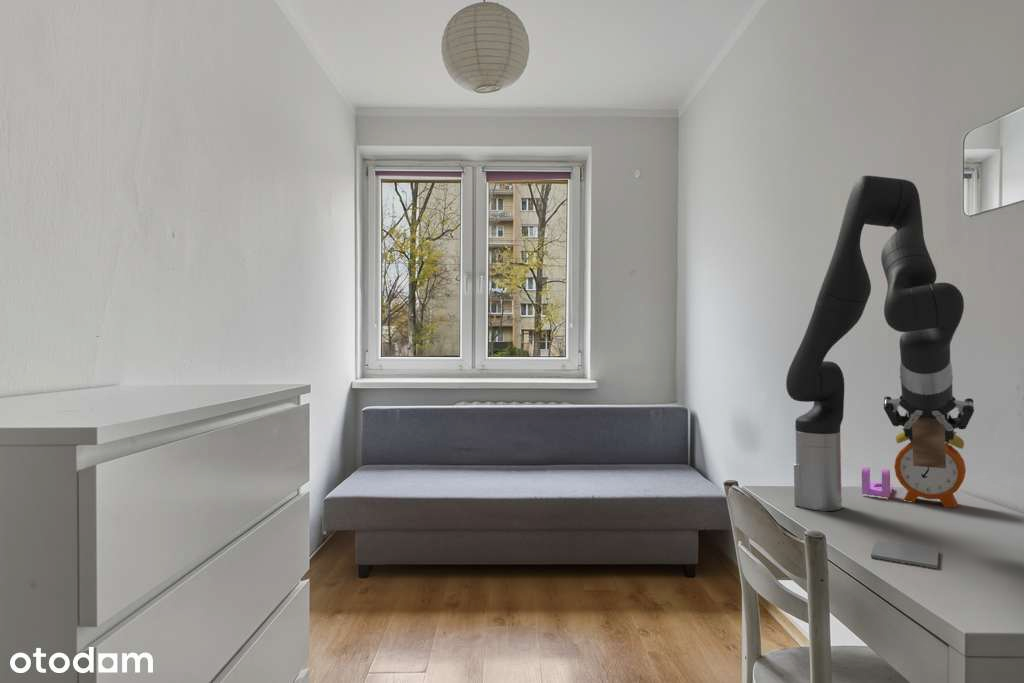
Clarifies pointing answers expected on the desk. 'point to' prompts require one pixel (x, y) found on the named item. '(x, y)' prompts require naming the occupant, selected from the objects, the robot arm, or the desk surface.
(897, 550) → the slate pad
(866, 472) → the bracket
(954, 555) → the desk surface
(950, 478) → the alarm clock
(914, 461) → the walnut block
